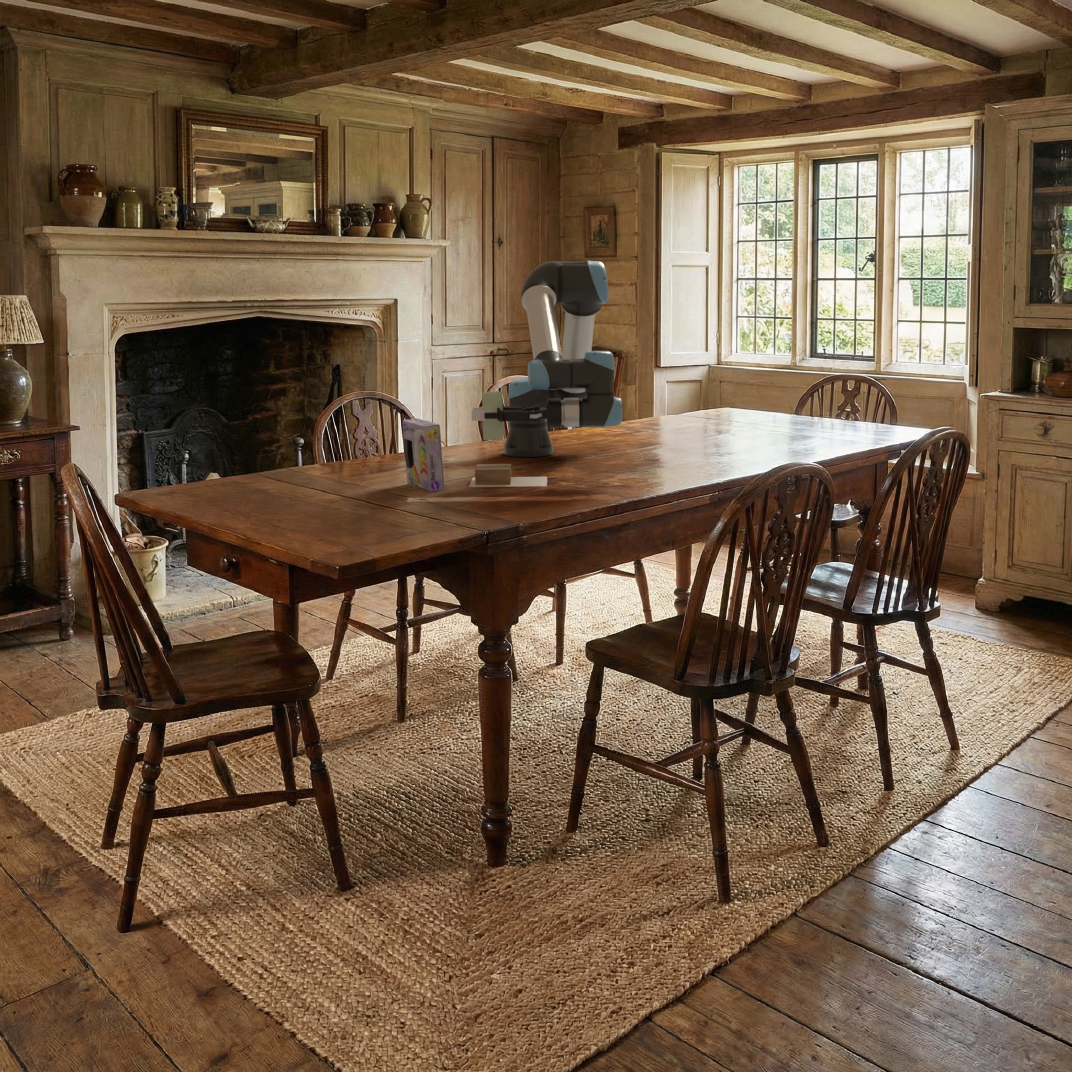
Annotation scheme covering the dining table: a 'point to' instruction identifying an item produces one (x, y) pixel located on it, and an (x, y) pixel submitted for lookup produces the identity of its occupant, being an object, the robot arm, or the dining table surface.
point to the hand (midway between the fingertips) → (472, 414)
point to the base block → (493, 474)
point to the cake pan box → (423, 454)
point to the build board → (517, 482)
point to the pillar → (492, 428)
